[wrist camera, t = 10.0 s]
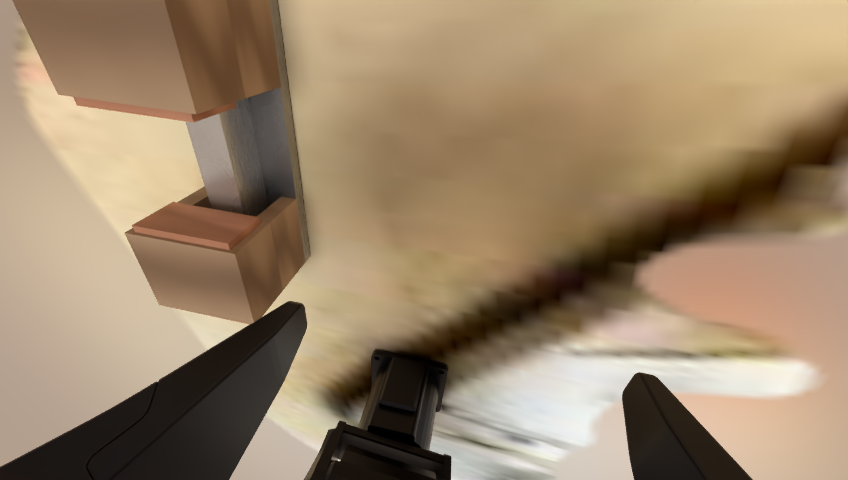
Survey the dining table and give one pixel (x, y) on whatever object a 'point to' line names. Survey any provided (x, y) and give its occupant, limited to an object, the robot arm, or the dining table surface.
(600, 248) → the dining table surface
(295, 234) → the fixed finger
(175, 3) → the block
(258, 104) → the rail
